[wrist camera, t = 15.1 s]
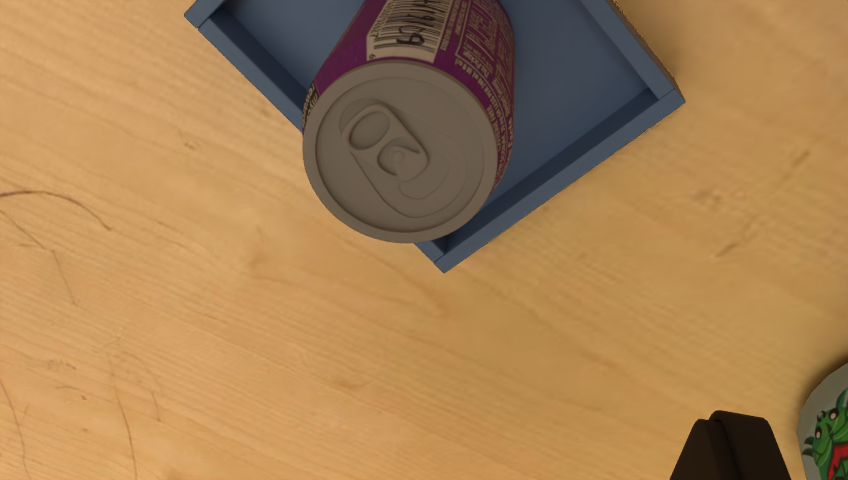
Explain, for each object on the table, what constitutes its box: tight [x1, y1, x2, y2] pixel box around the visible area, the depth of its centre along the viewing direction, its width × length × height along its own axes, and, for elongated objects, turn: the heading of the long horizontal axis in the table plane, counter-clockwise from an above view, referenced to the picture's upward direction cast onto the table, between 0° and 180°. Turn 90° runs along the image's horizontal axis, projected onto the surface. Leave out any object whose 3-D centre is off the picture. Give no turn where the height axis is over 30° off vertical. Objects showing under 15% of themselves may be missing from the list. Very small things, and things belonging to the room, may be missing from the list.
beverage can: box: [302, 0, 515, 243], centre depth 30 cm, size 7×7×12 cm
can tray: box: [184, 0, 685, 273], centre depth 35 cm, size 17×14×3 cm
